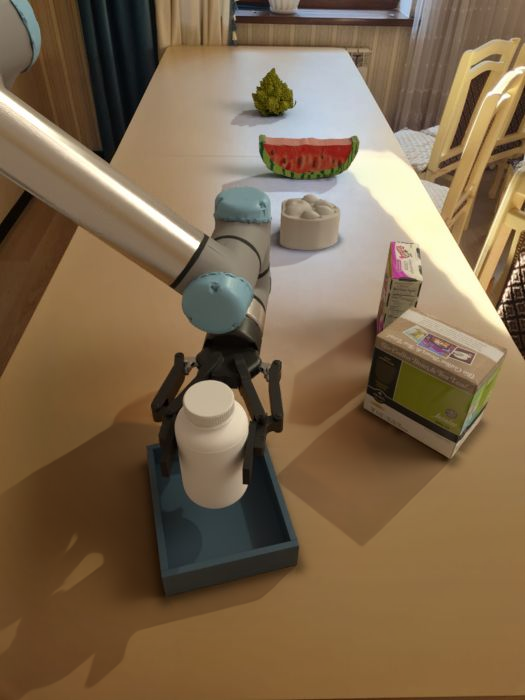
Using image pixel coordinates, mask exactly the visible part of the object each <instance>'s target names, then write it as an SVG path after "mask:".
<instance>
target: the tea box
mask: <svg viewBox="0 0 525 700" xmlns="http://www.w3.org/2000/svg"><path fill="white" fill-rule="evenodd" d="M508 350H509V349H508V348H506V347H504V346H503V345H500V344H498V343H496V342H493V341H491V340H488V339H486V338H485V337H482V336H480V335H477V334H475V333H473V332H470V331H468V330H467V329H464V328H462V327H459V326H457V325H455V324H453V323H451V322H449V321H446V320H444V319H442V318H439V317H437V316H435V315H433V314H431V313H428V312H426V311H423V310H421V309H418V308H417V307H416V308H415V307H412V306H411V307H410V308H409V309H408V310H406V311H405V312H404V313H403V314H402V315H401V316H399V317H398V318H397V319H396V320H395V321H394V322H392V323H391V324H390V325H389V326H388V327H386V328H385V329H384V330H383V331H382V332H380V333H379V334H378V335H377V334H376V336H375V342H374V346H373V352H372V357H371V363H370V368H369V373H368V379H367V384H366V390H365V394H364V401H363V409H365V410H367V412H370V413H371V414H373V415H374V416H377V417H378V418H380V419H382V420H384V421H385V422H386V423H388V424H390V425H392V426H393V427H395V428H397V429H398V430H400V431H403V432H404V433H406V434H407V435H409V436H410V437H412V438H413V439H415V440H417V441H419V442H420V443H422V444H424V445H426V446H427V447H429V448H431V449H432V450H434V451H436V452H437V453H439V454H441V455H442V456H444V457H446V458H448V459H450V460H451V459H452V458H453V457H454V456H455V454H456V453H457V452H458V450H459V448H461V446H462V445H463V443H464V442H465V441H466V439H467V438H468V437H469V435H470V434H471V433H472V432H473V430H475V428H476V427H477V425H478V424H479V423H480V421H481V419H482V416H483V415H484V412H485V410H486V408H487V405H488V403H489V401H490V398H491V396H492V393H493V390H494V387H495V385H496V382H497V380H498V377H499V374H500V373H501V369H502V367H503V364H504V362H505V360H506V357H507V354H508Z"/></svg>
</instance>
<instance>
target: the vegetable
mask: <svg viewBox="0 0 525 700" xmlns="http://www.w3.org/2000/svg"><path fill="white" fill-rule="evenodd" d="M251 99H252V100H253V105H254V106H253V107H254V108H255V109H256V111H257V112H258V111H259V110H260V111H259V113H261V115H262V117H267V116H269V115H276V116H282V115H283V116H284V115H285V112H287V111H288V110H289V109H294V107H295V106H296V105H297V99H295V100H294V92H293V89H291V88H289V87H288V84H287V82H285V81H284V82H283V79H281V78H280V76H279V74H277V73H276V68H275V67H273V68H271V69H270V71H268V72H266V74H265V76H264V77H262V80H260V81H259V85H258V86H257V85H256V90H255V92H251Z"/></svg>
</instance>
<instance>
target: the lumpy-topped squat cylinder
mask: <svg viewBox="0 0 525 700" xmlns="http://www.w3.org/2000/svg"><path fill="white" fill-rule="evenodd" d="M341 212H342V211H341V208H339V207H338V205H336V204H335V203H333V202H330V201H329V200H326V199H322V198H318V197H317V196H316V195H314V194H312V193H311V194H310V193H309V194H305V195H303V196H302V197H291V198H287V199H284V200H282V202H281V209H280V220H279V221H280V222H279V223H280V226H279V244H280V245H281V246H282V247H283V248H286V249H291V250H300V251H302V250H303V251H318V250H319V251H320V250H324V249H328V248H330V247H332V246H334V245H336V243H337V242H338V238H339V231H340V221H341Z"/></svg>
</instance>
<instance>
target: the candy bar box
mask: <svg viewBox="0 0 525 700" xmlns="http://www.w3.org/2000/svg"><path fill="white" fill-rule="evenodd" d="M384 271H385V272H384V276H383V283H382V287H381V293H380V299H379V303H378V310H377V315H376V316H377V317H376V336H377V335H378V334H379V333H380V332H382V331H383V330H384V329H385V328H386V327H388V326H389V325H390V324H391V323H392V322H394V321H395V320H396V319H397V318H398V317H399V316H401V315H402V314H403V313H404V312H405V311H406V310H408V309H409V308H410V307H411V306H412V307H415V308H417V307H418V302H419V299H420V298H419V297H420V293H421V289H422V285H423V282H424V279H423V269H422V259H421V248H420V244H419V243H413V242H403V241H402V242H400V241H390V243H389V248H388V254H387V259H386V265H385V270H384Z"/></svg>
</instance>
